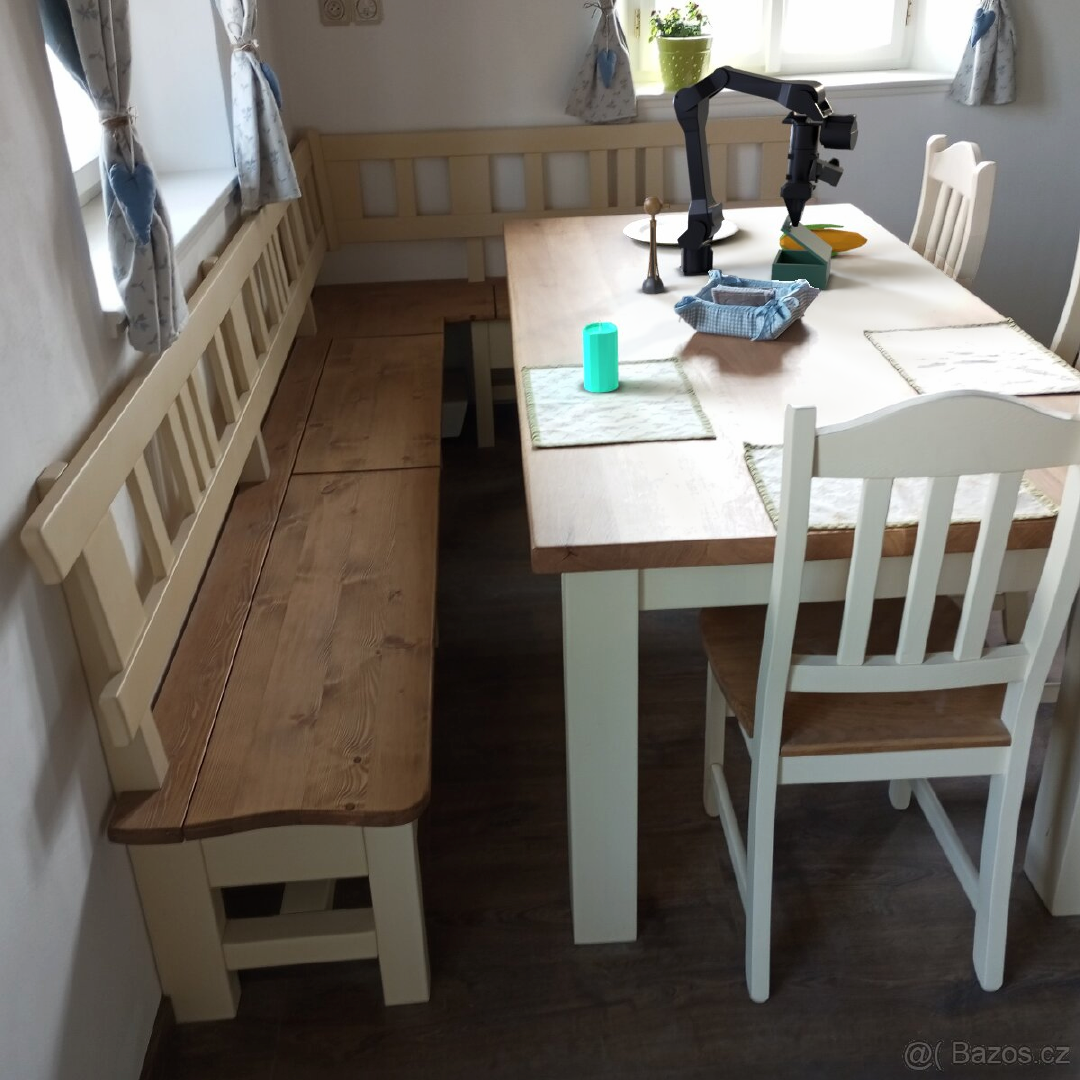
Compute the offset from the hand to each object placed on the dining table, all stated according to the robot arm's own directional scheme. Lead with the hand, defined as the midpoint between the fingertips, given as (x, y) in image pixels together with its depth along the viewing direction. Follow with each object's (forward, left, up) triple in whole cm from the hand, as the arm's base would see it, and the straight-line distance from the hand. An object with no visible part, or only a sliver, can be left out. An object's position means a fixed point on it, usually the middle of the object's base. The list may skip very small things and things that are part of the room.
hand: (796, 223), depth 233 cm
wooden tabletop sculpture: (-30, -1, -13) cm, 33 cm away
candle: (-47, -56, -13) cm, 75 cm away
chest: (+2, -1, -12) cm, 12 cm away
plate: (-17, +46, -13) cm, 51 cm away
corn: (+12, +19, -13) cm, 25 cm away
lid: (+2, -1, -4) cm, 4 cm away
